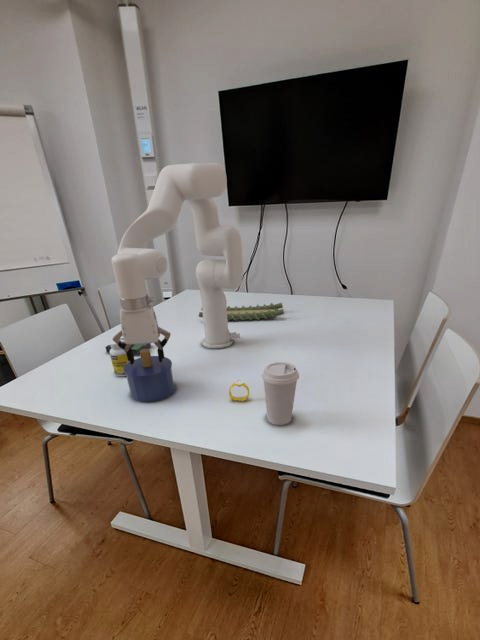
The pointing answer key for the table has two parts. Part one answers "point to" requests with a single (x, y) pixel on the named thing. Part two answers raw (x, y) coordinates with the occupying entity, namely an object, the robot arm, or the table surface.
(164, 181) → the robot arm
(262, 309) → the green spiky bar
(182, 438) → the table surface
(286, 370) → the coffee cup
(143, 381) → the tin
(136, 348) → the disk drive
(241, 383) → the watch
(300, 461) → the table surface
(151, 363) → the lid
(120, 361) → the pill bottle
